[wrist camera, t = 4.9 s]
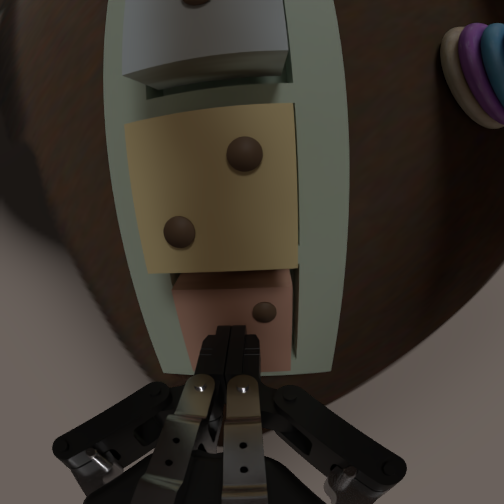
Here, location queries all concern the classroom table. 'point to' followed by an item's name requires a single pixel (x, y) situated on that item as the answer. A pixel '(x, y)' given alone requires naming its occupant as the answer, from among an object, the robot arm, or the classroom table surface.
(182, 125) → the tile
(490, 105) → the stacking toy
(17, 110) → the classroom table surface
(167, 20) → the grey block
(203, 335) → the tile
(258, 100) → the number board
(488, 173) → the classroom table surface
